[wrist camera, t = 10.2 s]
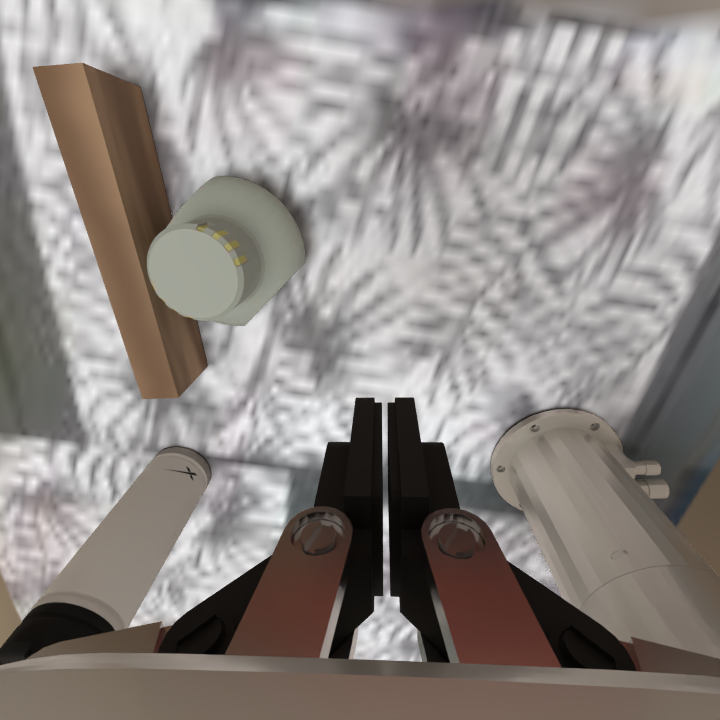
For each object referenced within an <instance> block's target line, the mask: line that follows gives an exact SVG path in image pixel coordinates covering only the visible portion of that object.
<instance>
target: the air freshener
mask: <svg viewBox="0 0 720 720" xmlns="http://www.w3.org/2000/svg"><path fill="white" fill-rule="evenodd" d="M304 263H305V250H304V244H303V239H302V236H301V233H300V230H299V228H298V226H297V224H296V222H295V220H294V218H293V217H292V215H291V214H290V212H289V211H288V210H287V208H286V207H285V206H284V205H283V204H282V203H281V202H280V201H279V200H278V199H277V198H276V197H275V196H274V195H273V194H271V193H270V192H269V191H267V190H266V189H264V188H262V187H261V186H259V185H257V184H255V183H253V182H250V181H247V180H244V179H241V178H236V177H229V176H217V177H214V178H212V179H210V180H209V181H207V182H206V183H205V184H204V185H203V186H202V187H200V188H199V189H198V190H197V191H196V192H195V193H194V194H193V195H192V196H191V197H190V198H189V199H188V200H187V202H186V203H185V204H184V205H183V206H182V207H181V209H180V210H179V211H178V212H177V214H176V215H175V216H174V217H173V219H172V220H171V222H170V223H169V224H168V226H167V227H166V229H164V230H163V231H161V232H160V233H159V234H158V235H157V236H156V237H155V239H154V240H153V242H152V243H151V245H150V248H149V251H148V256H147V271H148V276H149V279H150V282H151V284H152V285H153V287H154V289H155V292H156V293H157V295H158V296H159V298H161V299H162V300H163V301H164V302H165V303H166V305H167V306H168V307H169V308H170V309H173V310H175V311H176V312H178V313H179V314H180V315H182V316H184V317H190V318H193V319H194V320H200V321H210V320H212V321H215V322H218V323H222V324H226V325H233V326H245V325H246V324H247V323H248V322H249V321H250V320H251V319H252V318H253V317H254V316H255V315H256V314H257V313H258V312H259V310H260V309H261V308H262V307H263V306H264V305H265V304H266V303H267V302H268V301H269V300H270V299H271V298H272V297H273V296H274V295H275V294H276V293H277V291H278V290H279V289H280V288H281V287H282V286H283V285H284V284H285V283H286V282H287V281H288V280H289V279H290V278H291V277H292V276H293V275H294V273H295V272H296V271H297V270H298V269H299V268H300V267H301V266H302V265H303V264H304Z"/></svg>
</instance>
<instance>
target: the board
mask: <svg viewBox="0 0 720 720" xmlns="http://www.w3.org/2000/svg"><path fill="white" fill-rule="evenodd" d="M33 70H34V73H35V76H36V79H37V82H38V85H39V88H40V91H41V94H42V97H43V100H44V103H45V106H46V109H47V112H48V115H49V118H50V121H51V124H52V127H53V130H54V133H55V136H56V139H57V142H58V145H59V148H60V151H61V154H62V157H63V160H64V163H65V166H66V169H67V173H68V176H69V179H70V182H71V185H72V188H73V191H74V194H75V197H76V200H77V203H78V206H79V209H80V212H81V215H82V218H83V221H84V224H85V227H86V230H87V233H88V236H89V239H90V242H91V245H92V248H93V251H94V254H95V257H96V260H97V263H98V266H99V269H100V272H101V275H102V278H103V281H104V284H105V287H106V290H107V293H108V296H109V299H110V302H111V305H112V308H113V311H114V314H115V318H116V321H117V324H118V327H119V330H120V333H121V336H122V339H123V342H124V345H125V348H126V351H127V354H128V357H129V360H130V363H131V366H132V369H133V372H134V375H135V378H136V381H137V384H138V387H139V390H140V393H141V396H142V399H155V398H179V397H180V395H181V394H182V393H183V392H184V391H185V390H186V389H187V388H188V387H189V386H190V385H191V384H192V383H193V382H194V380H195V379H196V378H197V377H198V376H199V375H200V374H201V373H202V372H203V371H204V370H205V369H206V368H207V366H208V364H207V360H206V356H205V352H204V348H203V344H202V340H201V335H200V331H199V327H198V323H197V320H194V319H193V318H190V317H184V316H182V315H180V314H179V313H178V312H176V311H175V310H173V309H170V308H169V307H168V306H167V305H166V303H165V302H164V301H163V300H162V299H161V298H159V296H158V295H157V293H156V292H155V289H154V287H153V285H152V284H151V282H150V279H149V276H148V271H147V256H148V251H149V248H150V245H151V243H152V242H153V240H154V239H155V237H156V236H157V235H158V234H159V233H160V232H161V231H163V230H164V229H166V227H167V226H168V224H169V223H170V222H171V220H172V215H171V211H170V207H169V203H168V199H167V195H166V190H165V186H164V182H163V178H162V174H161V170H160V166H159V161H158V157H157V153H156V149H155V145H154V141H153V137H152V132H151V128H150V124H149V120H148V116H147V112H146V108H145V103H144V99H143V95H142V91H141V87H139V86H136V85H134V84H132V83H129V82H127V81H124V80H122V79H120V78H117V77H115V76H113V75H110V74H108V73H105V72H103V71H101V70H98V69H96V68H93V67H91V66H89V65H86V64H84V63H75V64H63V65H51V66H39V67H33Z"/></svg>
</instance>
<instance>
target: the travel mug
mask: <svg viewBox="0 0 720 720" xmlns="http://www.w3.org/2000/svg"><path fill="white" fill-rule="evenodd" d="M210 479H211V472H210V468H209V466H208V464H207V462H206V461H205V460H204V459H203V458H202V457H201V456H200V455H199V454H197V453H196V452H194V451H192V450H189V449H186V448H182V447H171V448H167V449H164V450H162V451H160V452H159V453H158V454H157V455H156V456H155V457H154V458H153V460H152V461H151V462H150V464H149V465H148V466H147V467H146V468H145V470H144V471H143V472H142V473H141V474H140V476H139V477H138V478H137V479H136V481H135V482H134V483H133V484H132V485H131V487H130V488H129V489H128V490H127V492H126V493H125V494H124V495H123V497H122V498H121V499H120V500H119V501H118V503H117V504H116V505H115V506H114V508H113V509H112V510H111V511H110V512H109V514H108V515H107V516H106V517H105V519H104V520H103V521H102V522H101V524H100V525H99V526H98V527H97V528H96V530H95V531H94V532H93V533H92V535H91V536H90V537H89V538H88V540H87V541H86V542H85V543H84V544H83V546H82V547H81V548H80V549H79V551H78V552H77V553H76V554H75V555H74V557H73V558H72V559H71V560H70V562H69V563H68V564H67V565H66V567H65V568H64V569H63V570H62V571H61V573H60V574H59V575H58V576H57V578H56V579H55V580H54V581H53V583H52V584H51V585H50V586H49V587H48V589H47V590H46V591H45V592H44V594H43V595H42V596H41V597H40V598H39V600H38V602H37V603H36V604H35V605H34V606H33V607H32V608H31V610H30V611H29V613H28V615H27V616H26V617H25V618H24V620H23V621H22V623H21V624H20V626H18V627H17V628H16V630H15V631H14V632H13V633H12V635H11V636H10V637H9V638H8V639H7V640H6V642H5V643H4V644H3V645H2V647H1V648H0V665H4V664H8V663H13V662H18V661H22V660H26V659H27V658H28V657H30V656H31V655H33V654H35V653H36V652H38V651H39V650H41V649H43V648H44V647H47V646H50V645H53V644H55V643H58V642H62V641H67V640H72V639H77V638H82V637H87V636H92V635H97V634H102V633H107V632H112V631H117V630H122V629H127V628H128V627H129V625H130V623H131V621H132V619H133V618H134V616H135V614H136V612H137V611H138V609H139V607H140V605H141V603H142V602H143V600H144V598H145V596H146V594H147V593H148V591H149V589H150V587H151V586H152V584H153V582H154V580H155V578H156V577H157V575H158V573H159V571H160V569H161V568H162V566H163V564H164V562H165V561H166V559H167V557H168V555H169V553H170V552H171V550H172V548H173V546H174V544H175V543H176V541H177V539H178V537H179V536H180V534H181V532H182V530H183V528H184V527H185V525H186V523H187V521H188V520H189V518H190V516H191V514H192V512H193V511H194V509H195V507H196V505H197V503H198V502H199V500H200V498H201V496H202V495H203V492H204V491H205V489H206V487H207V486H208V484H209V482H210Z"/></svg>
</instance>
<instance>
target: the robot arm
mask: <svg viewBox="0 0 720 720" xmlns="http://www.w3.org/2000/svg"><path fill="white" fill-rule="evenodd" d="M490 468H491V476H492V479H493V482H494V485H495V487H496V489H497V491H498V493H499V494H500V495H501V496H502V497H503V499H504V500H506V501H507V502H508V503H509V504H511V505H512V506H514V507H516V508H518V509H520V510H523V512H524V514H525V516H526V518H527V521H528V523H529V525H530V527H531V529H532V532H533V534H534V536H535V538H536V540H537V543H538V545H539V547H540V549H541V551H542V554H543V556H544V558H545V560H546V562H547V565H548V567H549V569H550V571H551V573H552V576H553V578H554V580H555V582H556V584H557V587H558V589H559V591H560V593H561V595H562V598H561V597H560V596H558V595H557V594H555V593H554V592H552V591H551V590H549V589H548V588H547V587H545V586H544V585H542V584H541V583H539V582H538V581H536V580H535V579H533V578H532V577H530V576H529V575H527V574H526V573H524V572H523V571H522V570H520V569H519V568H517V567H516V566H514V565H513V564H511V563H510V562H508V561H507V560H506V558H505V556H504V554H503V552H502V550H501V548H500V547H499V545H498V543H497V541H496V539H495V537H494V535H493V533H492V531H491V530H490V528H489V527H488V525H487V524H486V523H485V522H484V521H483V520H482V519H480V518H479V517H478V516H476V515H474V514H472V513H470V512H468V511H465V510H461V509H460V507H459V502H458V498H457V494H456V490H455V486H454V482H453V478H452V474H451V470H450V466H449V462H448V458H447V454H446V450H445V446H444V444H443V443H442V442H421V439H420V433H419V427H418V420H417V414H416V408H415V401H414V398H395V403H388V506H389V550H390V594H391V596H395V597H399V598H400V613H402V614H403V615H404V616H405V617H406V618H407V619H408V620H409V621H410V622H411V623H412V624H413V625H414V626H415V627H416V628H417V638H418V644H419V648H420V653H421V657H422V662H411V661H385V660H358V659H353V658H354V653H355V648H356V643H357V636H358V626H359V625H360V624H361V623H362V622H363V621H365V620H366V619H367V618H368V617H369V616H370V615H371V614H372V613H373V612H374V596H383V472H382V403H375V399H374V398H356V400H355V408H354V416H353V424H352V432H351V440H350V442H328V444H327V448H326V453H325V458H324V462H323V467H322V472H321V476H320V481H319V485H318V490H317V495H316V499H315V504H314V507H313V508H308V509H306V510H304V511H302V512H300V513H298V514H297V515H295V516H294V517H293V518H292V519H291V520H290V521H289V523H288V524H287V526H286V527H285V529H284V531H283V533H282V535H281V537H280V539H279V541H278V544H277V546H276V548H275V550H274V552H273V554H272V555H271V556H270V557H268V558H267V559H265V560H264V561H262V562H261V563H259V564H258V565H256V566H255V567H253V568H252V569H250V570H249V571H247V572H246V573H244V574H243V575H241V576H240V577H239V578H237V579H236V580H234V581H233V582H231V583H230V584H228V585H227V586H225V587H224V588H222V589H221V590H219V591H218V592H216V593H215V594H213V595H212V596H210V597H209V598H207V599H206V600H204V601H203V602H201V603H200V604H198V605H197V606H196V607H194V608H193V609H191V610H190V611H188V612H187V613H186V614H184V615H183V616H182V617H181V618H180V619H178V620H177V621H176V622H175V623H174V624H173V625H172V626H167V627H164V626H163V623H162V621H161V622H156V623H151V624H146V625H141V626H137V627H132V628H127V629H122V630H117V631H112V632H107V633H102V634H97V635H92V636H87V637H82V638H77V639H72V640H67V641H62V642H58V643H55V644H53V645H50V646H47V647H44V648H43V649H41V650H39V651H38V652H36V653H35V654H33V655H31V656H30V657H28V658H27V659H26V660H22V661H18V662H13V663H8V664H4V665H0V720H720V576H719V575H718V574H717V573H716V572H715V571H714V570H713V569H712V567H711V566H710V565H709V564H708V563H707V562H706V560H705V559H704V558H703V557H702V556H701V555H700V554H699V553H698V551H697V550H696V549H695V548H694V547H693V546H692V545H691V543H690V542H689V541H688V540H687V539H686V538H685V537H684V535H683V534H682V533H681V532H680V531H679V530H678V529H677V528H676V526H675V525H674V524H673V523H672V522H671V521H670V520H669V518H668V517H667V516H666V515H665V514H664V513H663V512H662V511H661V509H660V508H659V507H658V506H657V505H656V504H655V503H654V501H653V500H652V499H666V498H668V496H669V487H668V484H667V483H666V482H665V480H663V479H662V478H639V479H634V478H635V475H659V474H660V473H661V467H660V464H659V463H658V462H657V461H656V460H641V461H632V460H631V459H628V458H627V457H626V456H625V455H624V453H623V447H622V443H621V441H620V439H619V437H618V435H617V434H616V433H615V432H614V430H613V429H612V428H611V427H610V426H609V425H608V424H607V423H606V422H605V421H604V420H602V419H601V418H599V417H597V416H595V415H594V414H591V413H588V412H585V411H581V410H574V409H556V410H550V411H545V412H541V413H539V414H536V415H533V416H530V417H528V418H527V419H525V420H523V421H521V422H519V423H518V424H516V425H515V426H514V427H512V428H511V429H510V430H509V431H508V432H507V433H506V434H505V435H504V436H503V437H502V438H501V440H500V441H499V443H498V444H497V446H496V447H495V450H494V452H493V455H492V458H491V465H490Z"/></svg>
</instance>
